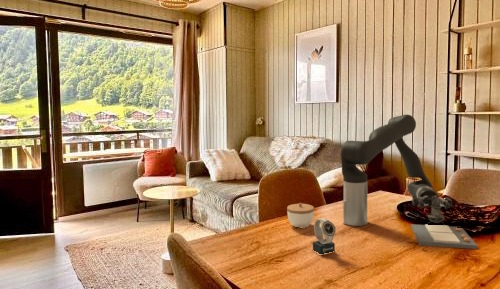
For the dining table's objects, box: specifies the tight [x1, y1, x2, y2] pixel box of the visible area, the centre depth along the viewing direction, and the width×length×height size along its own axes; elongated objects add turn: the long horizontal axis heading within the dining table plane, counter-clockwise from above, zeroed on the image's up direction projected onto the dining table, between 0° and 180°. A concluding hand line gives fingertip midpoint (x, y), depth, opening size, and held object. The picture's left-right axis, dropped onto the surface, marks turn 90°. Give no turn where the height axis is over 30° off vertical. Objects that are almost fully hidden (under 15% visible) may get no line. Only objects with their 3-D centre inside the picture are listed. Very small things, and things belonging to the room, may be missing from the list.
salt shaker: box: [427, 194, 445, 223], centre depth 137 cm, size 6×6×12 cm
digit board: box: [410, 223, 478, 250], centre depth 125 cm, size 17×18×2 cm
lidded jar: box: [286, 202, 315, 229], centre depth 141 cm, size 11×11×9 cm
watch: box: [312, 217, 336, 254], centre depth 115 cm, size 6×8×11 cm
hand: (435, 206), depth 139 cm, fingers open, 8 cm apart
